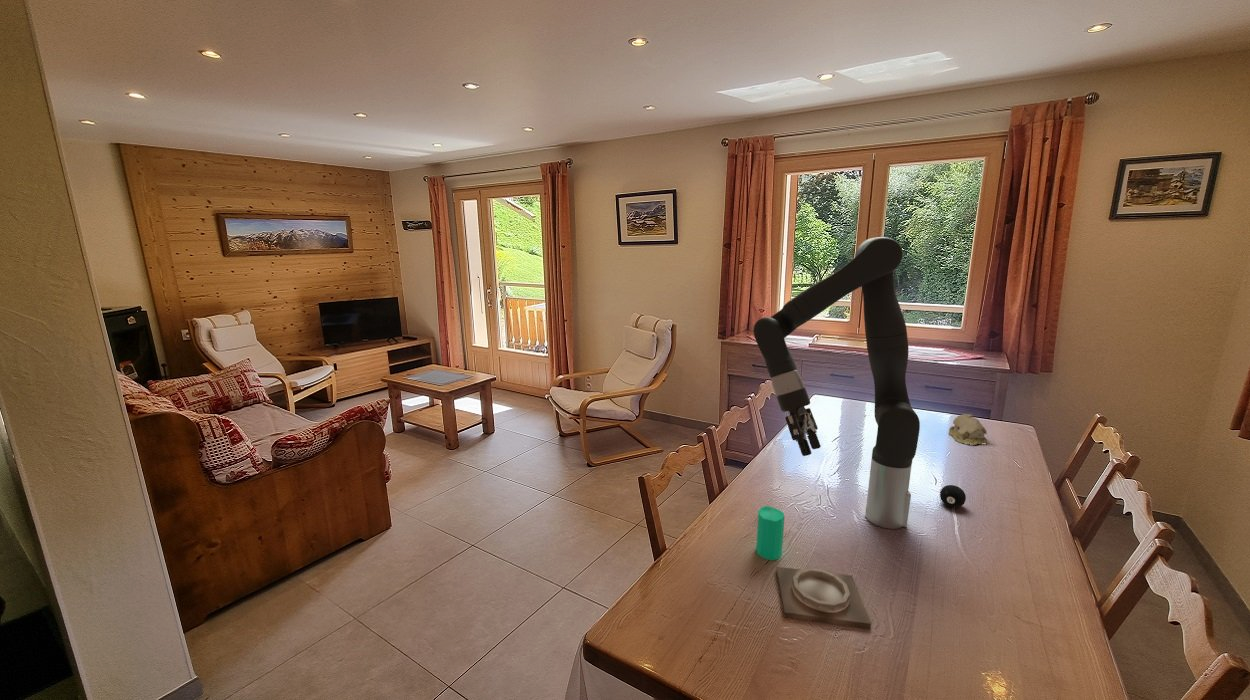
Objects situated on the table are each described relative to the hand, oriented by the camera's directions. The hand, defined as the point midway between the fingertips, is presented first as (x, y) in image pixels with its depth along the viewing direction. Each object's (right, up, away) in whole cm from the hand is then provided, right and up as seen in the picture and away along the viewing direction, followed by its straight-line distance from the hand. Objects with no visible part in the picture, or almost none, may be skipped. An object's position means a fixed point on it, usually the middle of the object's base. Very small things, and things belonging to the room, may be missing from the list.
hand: (812, 451), depth 121 cm
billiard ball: (+45, -19, +15) cm, 51 cm away
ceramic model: (+83, -8, +61) cm, 103 cm away
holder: (-6, -27, -20) cm, 34 cm away
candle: (-13, -24, -5) cm, 27 cm away
